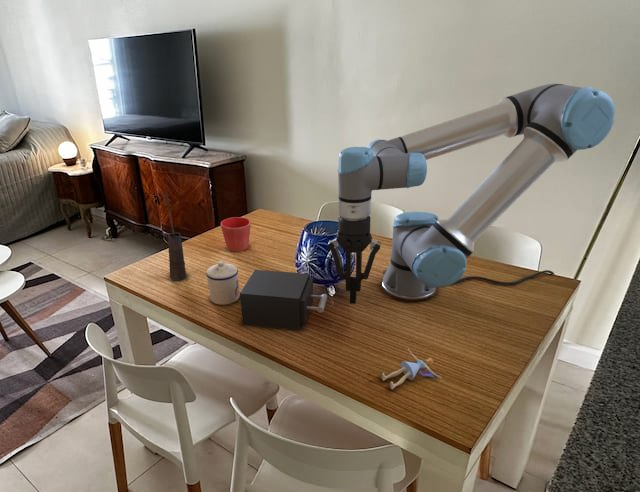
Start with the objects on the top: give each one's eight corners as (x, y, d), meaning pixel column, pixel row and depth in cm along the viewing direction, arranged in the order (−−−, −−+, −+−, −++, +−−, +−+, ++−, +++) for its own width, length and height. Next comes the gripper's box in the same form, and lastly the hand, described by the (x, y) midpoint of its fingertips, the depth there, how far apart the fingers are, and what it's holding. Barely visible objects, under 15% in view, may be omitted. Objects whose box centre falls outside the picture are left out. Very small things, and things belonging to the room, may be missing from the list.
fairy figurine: (371, 357, 100) (415, 338, 104) (372, 373, 103) (415, 354, 106) (403, 389, 91) (451, 367, 94) (403, 406, 93) (450, 384, 97)
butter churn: (194, 283, 142) (181, 197, 128) (163, 286, 141) (147, 199, 127) (195, 270, 150) (182, 187, 136) (165, 273, 149) (150, 190, 135)
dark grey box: (309, 303, 128) (309, 273, 124) (299, 330, 117) (299, 298, 112) (256, 298, 132) (254, 269, 127) (242, 324, 120) (239, 293, 116)
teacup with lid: (243, 302, 130) (240, 266, 125) (212, 308, 128) (207, 271, 123) (234, 283, 140) (231, 249, 135) (205, 288, 138) (200, 254, 133)
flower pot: (258, 244, 166) (256, 219, 161) (240, 255, 158) (238, 229, 153) (235, 239, 171) (233, 214, 167) (217, 250, 163) (214, 224, 159)
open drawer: (328, 303, 126) (329, 279, 122) (321, 328, 116) (321, 302, 112) (263, 297, 130) (262, 273, 127) (251, 321, 120) (249, 296, 116)
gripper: (324, 220, 105) (326, 306, 116) (382, 222, 102) (377, 310, 113) (329, 209, 111) (330, 292, 123) (383, 210, 108) (379, 295, 120)
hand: (353, 301), depth 118 cm, fingers closed
